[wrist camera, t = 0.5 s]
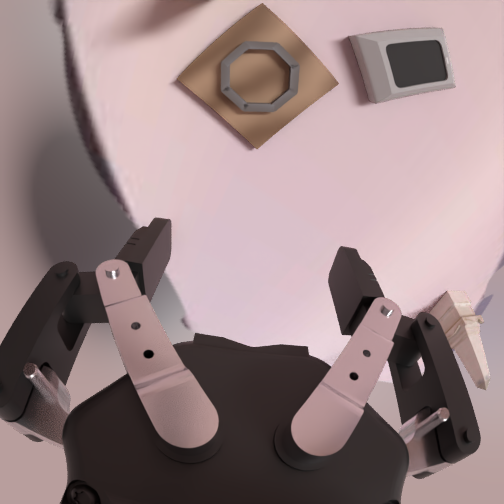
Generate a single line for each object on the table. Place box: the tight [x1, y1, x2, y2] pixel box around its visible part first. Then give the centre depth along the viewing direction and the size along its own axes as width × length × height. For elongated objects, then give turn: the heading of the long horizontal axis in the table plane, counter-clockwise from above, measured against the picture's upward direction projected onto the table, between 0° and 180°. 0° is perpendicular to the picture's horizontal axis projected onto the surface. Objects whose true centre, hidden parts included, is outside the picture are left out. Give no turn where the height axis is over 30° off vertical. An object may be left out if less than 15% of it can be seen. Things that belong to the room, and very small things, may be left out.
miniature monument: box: [429, 291, 490, 390], centre depth 52 cm, size 10×10×30 cm
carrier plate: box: [177, 3, 339, 149], centre depth 28 cm, size 14×14×2 cm
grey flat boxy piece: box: [349, 28, 456, 104], centre depth 24 cm, size 10×4×15 cm
